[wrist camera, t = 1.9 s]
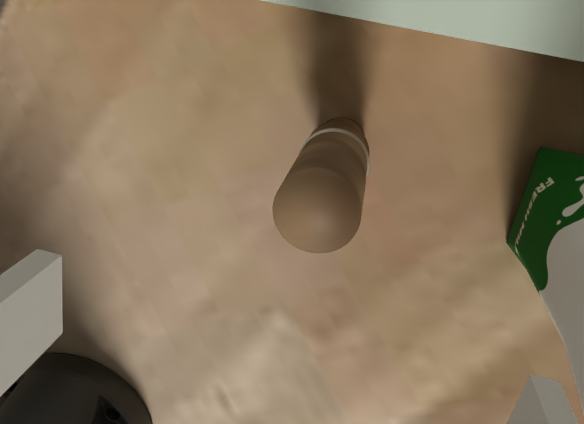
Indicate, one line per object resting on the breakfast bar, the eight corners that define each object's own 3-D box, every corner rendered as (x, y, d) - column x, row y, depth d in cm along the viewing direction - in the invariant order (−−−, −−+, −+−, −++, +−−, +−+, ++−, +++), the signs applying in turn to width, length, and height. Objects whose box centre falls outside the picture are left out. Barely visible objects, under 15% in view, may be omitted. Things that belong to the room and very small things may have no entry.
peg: (305, 163, 36) (264, 243, 24) (317, 104, 34) (278, 159, 22) (364, 176, 36) (351, 263, 24) (378, 117, 34) (372, 180, 22)
